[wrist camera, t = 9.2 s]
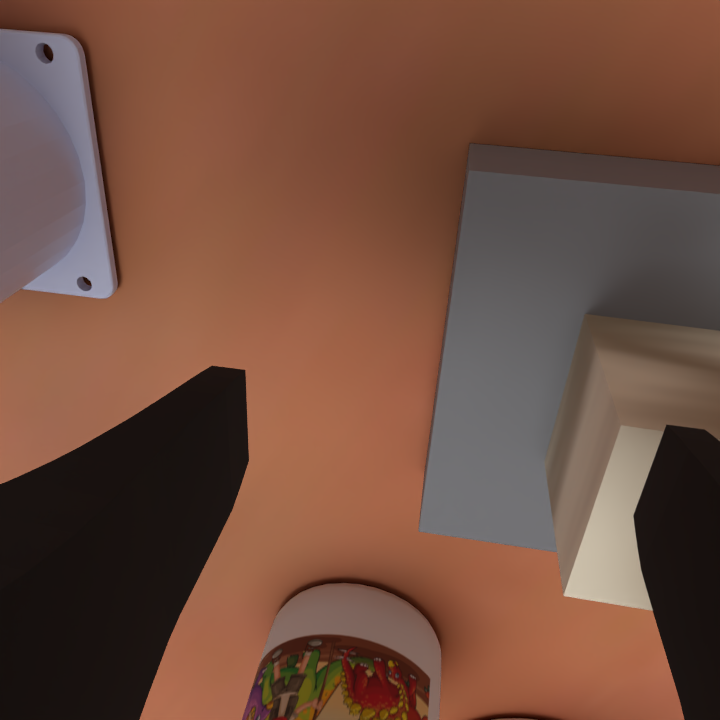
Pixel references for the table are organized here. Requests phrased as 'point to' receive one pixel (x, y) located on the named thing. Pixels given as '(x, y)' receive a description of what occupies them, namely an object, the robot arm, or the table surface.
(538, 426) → the grey base
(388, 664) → the milk bottle
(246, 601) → the table surface
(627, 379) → the maple cube
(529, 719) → the fruit juice
